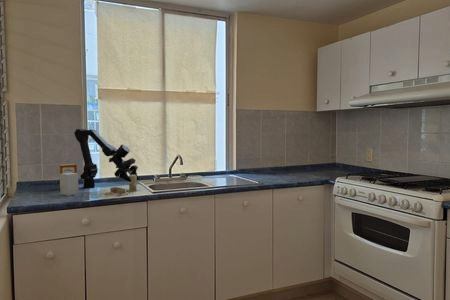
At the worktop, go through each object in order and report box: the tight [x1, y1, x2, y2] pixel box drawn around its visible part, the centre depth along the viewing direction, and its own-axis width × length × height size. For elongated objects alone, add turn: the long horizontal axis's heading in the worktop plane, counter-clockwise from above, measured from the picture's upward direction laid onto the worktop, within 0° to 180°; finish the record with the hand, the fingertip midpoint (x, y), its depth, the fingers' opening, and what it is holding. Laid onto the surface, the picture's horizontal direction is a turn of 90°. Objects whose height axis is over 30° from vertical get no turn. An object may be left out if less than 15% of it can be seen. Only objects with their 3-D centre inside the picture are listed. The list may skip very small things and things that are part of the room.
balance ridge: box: [106, 186, 130, 197], centre depth 206 cm, size 11×8×4 cm
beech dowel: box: [128, 174, 138, 192], centre depth 217 cm, size 4×4×10 cm
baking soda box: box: [58, 163, 78, 190], centre depth 222 cm, size 10×6×16 cm
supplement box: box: [59, 172, 80, 197], centre depth 204 cm, size 7×7×13 cm
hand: (134, 180), depth 216 cm, fingers open, 8 cm apart
